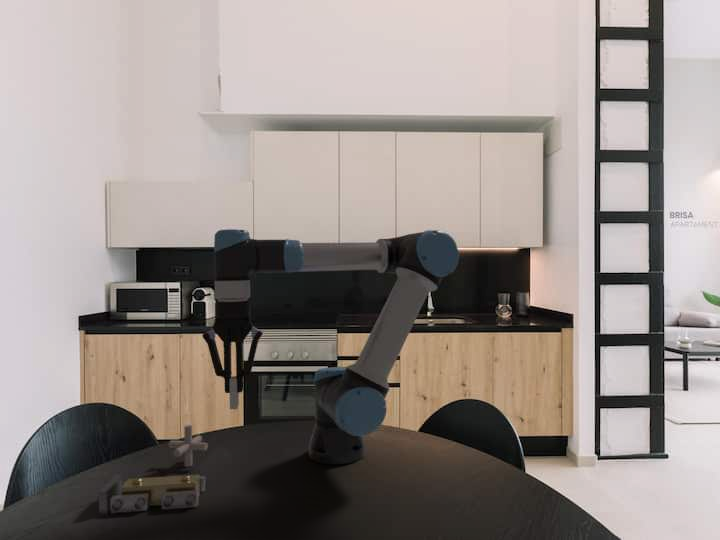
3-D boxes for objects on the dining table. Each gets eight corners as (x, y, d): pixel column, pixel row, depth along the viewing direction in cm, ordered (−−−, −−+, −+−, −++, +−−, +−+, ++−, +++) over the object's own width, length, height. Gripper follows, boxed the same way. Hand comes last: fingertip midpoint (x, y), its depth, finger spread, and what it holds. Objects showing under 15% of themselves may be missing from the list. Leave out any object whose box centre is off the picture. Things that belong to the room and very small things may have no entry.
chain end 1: (159, 491, 103) (159, 471, 103) (145, 512, 93) (145, 490, 94) (116, 494, 101) (116, 473, 101) (97, 515, 92) (97, 493, 92)
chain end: (205, 488, 104) (205, 474, 104) (196, 508, 95) (196, 494, 95) (173, 490, 103) (173, 476, 103) (161, 511, 94) (160, 496, 94)
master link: (199, 494, 101) (199, 471, 101) (195, 503, 97) (195, 479, 97) (128, 499, 99) (128, 476, 99) (121, 509, 95) (121, 484, 95)
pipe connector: (195, 475, 110) (195, 433, 110) (158, 472, 112) (158, 431, 112) (216, 458, 120) (216, 420, 120) (182, 456, 122) (181, 418, 122)
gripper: (264, 298, 105) (265, 401, 105) (205, 299, 103) (207, 403, 103) (261, 300, 98) (263, 410, 98) (198, 301, 96) (199, 414, 96)
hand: (234, 407), depth 100 cm, fingers closed
